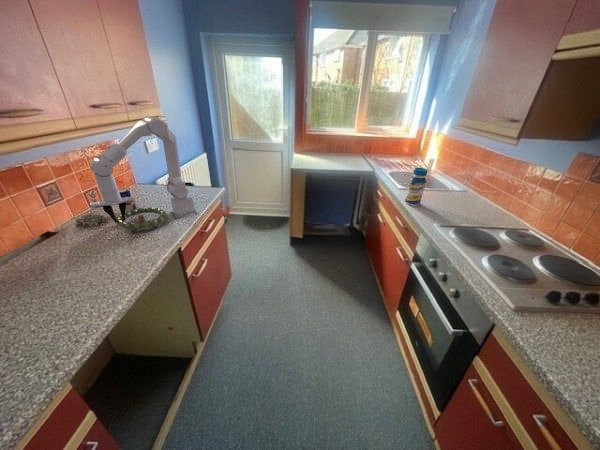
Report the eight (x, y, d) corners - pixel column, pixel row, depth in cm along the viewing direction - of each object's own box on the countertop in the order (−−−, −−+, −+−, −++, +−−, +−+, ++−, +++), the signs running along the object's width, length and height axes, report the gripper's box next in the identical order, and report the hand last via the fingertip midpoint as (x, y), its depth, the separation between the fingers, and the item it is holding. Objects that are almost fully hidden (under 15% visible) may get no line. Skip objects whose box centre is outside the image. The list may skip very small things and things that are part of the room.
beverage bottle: (421, 202, 145) (430, 168, 135) (418, 207, 138) (428, 172, 129) (406, 199, 149) (414, 166, 139) (402, 203, 142) (411, 169, 133)
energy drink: (131, 216, 118) (124, 192, 112) (122, 215, 119) (114, 191, 113) (140, 211, 123) (133, 188, 117) (131, 210, 123) (123, 187, 118)
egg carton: (74, 225, 108) (70, 217, 107) (91, 218, 115) (88, 210, 113) (92, 229, 106) (89, 221, 104) (109, 222, 112) (106, 214, 110)
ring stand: (153, 221, 114) (150, 210, 112) (155, 228, 108) (151, 217, 106) (132, 225, 110) (129, 214, 108) (133, 233, 105) (129, 221, 102)
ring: (163, 208, 120) (162, 204, 118) (169, 224, 106) (168, 219, 105) (117, 215, 110) (116, 210, 109) (117, 234, 97) (116, 228, 96)
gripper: (84, 196, 91) (98, 229, 97) (131, 190, 98) (140, 220, 104) (86, 190, 96) (99, 221, 102) (130, 184, 103) (139, 214, 109)
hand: (120, 220), depth 103 cm, fingers closed on ring, 2 cm apart
